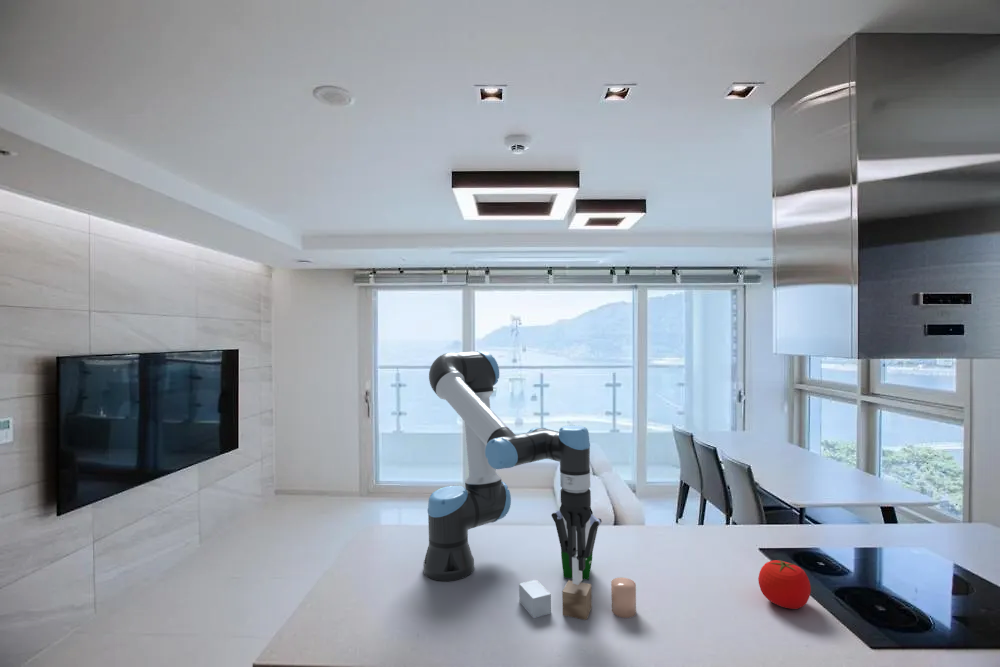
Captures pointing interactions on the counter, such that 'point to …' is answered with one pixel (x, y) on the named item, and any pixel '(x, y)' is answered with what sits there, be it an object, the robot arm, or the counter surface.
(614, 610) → the peach domed cylinder
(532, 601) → the grey brick
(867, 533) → the counter surface
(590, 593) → the walnut cube
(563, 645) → the counter surface
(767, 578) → the tomato
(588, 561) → the milk carton
